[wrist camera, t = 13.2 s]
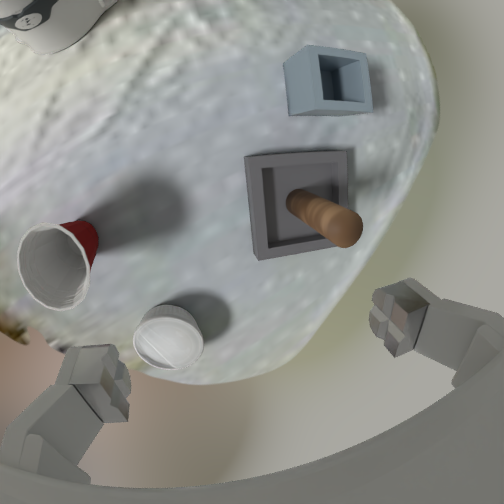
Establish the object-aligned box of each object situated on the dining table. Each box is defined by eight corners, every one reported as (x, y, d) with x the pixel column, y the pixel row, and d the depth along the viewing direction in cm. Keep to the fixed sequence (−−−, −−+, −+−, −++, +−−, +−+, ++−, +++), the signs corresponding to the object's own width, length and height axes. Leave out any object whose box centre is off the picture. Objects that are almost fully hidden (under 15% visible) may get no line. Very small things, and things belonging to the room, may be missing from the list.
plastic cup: (109, 198, 35) (79, 219, 24) (119, 268, 39) (98, 310, 28) (48, 205, 33) (6, 229, 22) (60, 271, 37) (29, 310, 26)
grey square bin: (283, 63, 33) (307, 44, 25) (333, 66, 34) (365, 53, 26) (288, 115, 36) (315, 109, 28) (339, 116, 38) (373, 112, 29)
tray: (243, 156, 37) (248, 157, 34) (336, 150, 40) (346, 151, 37) (253, 253, 43) (258, 260, 40) (338, 238, 45) (347, 244, 42)
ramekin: (129, 338, 44) (125, 358, 39) (148, 288, 41) (144, 306, 37) (187, 357, 48) (188, 377, 43) (212, 312, 45) (215, 331, 40)
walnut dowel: (284, 190, 39) (330, 213, 27) (310, 187, 40) (363, 209, 27) (286, 216, 41) (330, 250, 28) (311, 213, 41) (362, 244, 29)
